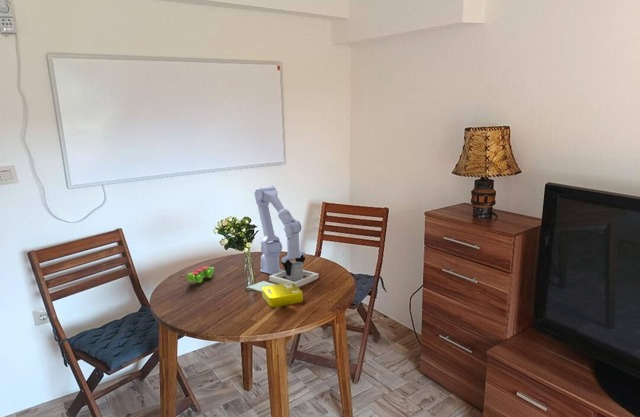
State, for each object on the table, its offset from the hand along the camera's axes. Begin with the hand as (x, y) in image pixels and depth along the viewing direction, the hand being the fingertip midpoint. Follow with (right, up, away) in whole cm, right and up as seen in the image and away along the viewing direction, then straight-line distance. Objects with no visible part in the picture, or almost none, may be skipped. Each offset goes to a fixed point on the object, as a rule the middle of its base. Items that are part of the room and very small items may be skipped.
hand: (293, 273), depth 211 cm
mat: (-14, -5, -8) cm, 17 cm away
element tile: (-4, -8, -22) cm, 24 cm away
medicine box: (0, -4, +1) cm, 4 cm away
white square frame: (0, -3, +1) cm, 3 cm away
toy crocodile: (-46, -4, +4) cm, 47 cm away
